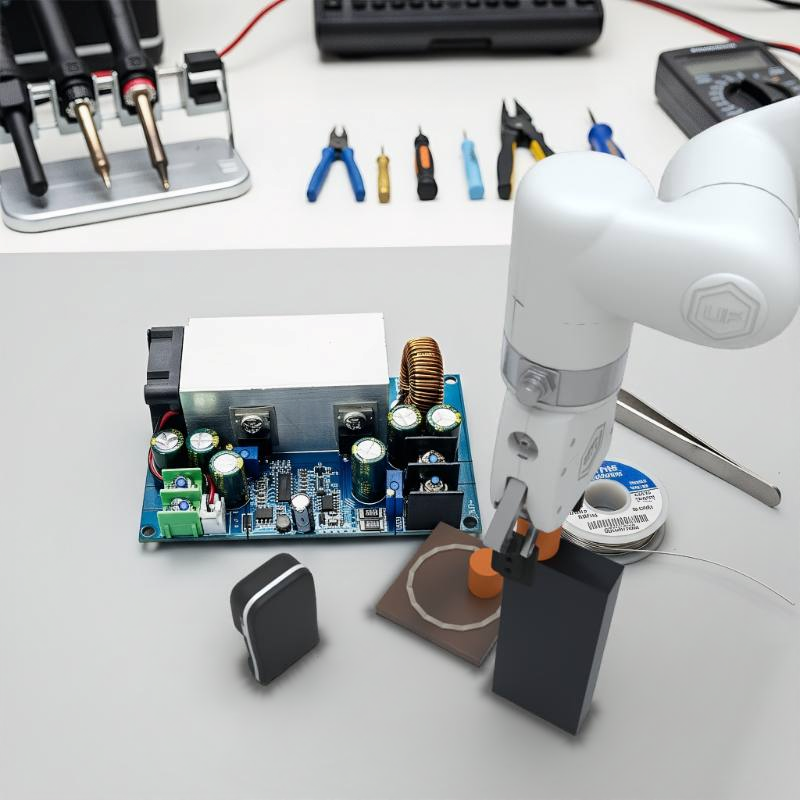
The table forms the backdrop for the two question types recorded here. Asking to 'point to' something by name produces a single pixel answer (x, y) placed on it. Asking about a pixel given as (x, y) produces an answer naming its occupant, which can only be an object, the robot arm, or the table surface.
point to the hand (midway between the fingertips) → (537, 537)
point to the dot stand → (556, 634)
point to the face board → (444, 597)
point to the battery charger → (276, 614)
